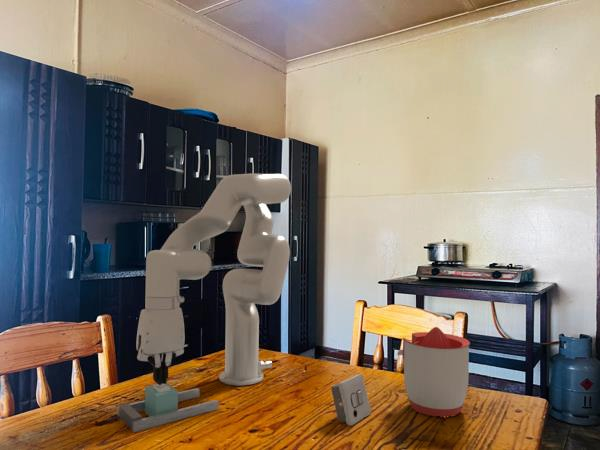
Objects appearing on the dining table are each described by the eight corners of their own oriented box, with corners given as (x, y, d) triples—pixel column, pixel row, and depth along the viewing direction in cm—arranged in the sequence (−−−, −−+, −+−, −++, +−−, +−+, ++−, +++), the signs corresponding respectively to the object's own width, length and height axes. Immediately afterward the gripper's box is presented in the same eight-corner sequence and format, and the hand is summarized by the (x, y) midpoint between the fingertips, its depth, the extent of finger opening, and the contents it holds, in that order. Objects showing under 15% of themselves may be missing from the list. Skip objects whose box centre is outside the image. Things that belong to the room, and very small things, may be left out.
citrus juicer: (409, 391, 122) (410, 317, 122) (476, 406, 112) (477, 325, 112) (385, 409, 109) (386, 326, 109) (458, 428, 99) (459, 337, 99)
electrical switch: (350, 427, 99) (347, 384, 99) (331, 423, 102) (328, 381, 103) (371, 414, 106) (369, 374, 107) (353, 411, 109) (350, 372, 110)
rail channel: (197, 395, 116) (197, 385, 116) (218, 409, 108) (218, 398, 108) (117, 415, 103) (117, 404, 103) (133, 432, 95) (134, 420, 95)
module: (165, 407, 109) (165, 379, 109) (177, 417, 103) (177, 388, 103) (144, 412, 105) (145, 384, 105) (156, 422, 100) (156, 392, 100)
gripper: (185, 298, 112) (183, 372, 112) (124, 304, 103) (122, 384, 102) (199, 302, 106) (197, 380, 106) (135, 308, 97) (133, 394, 97)
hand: (160, 382), depth 104 cm, fingers closed
